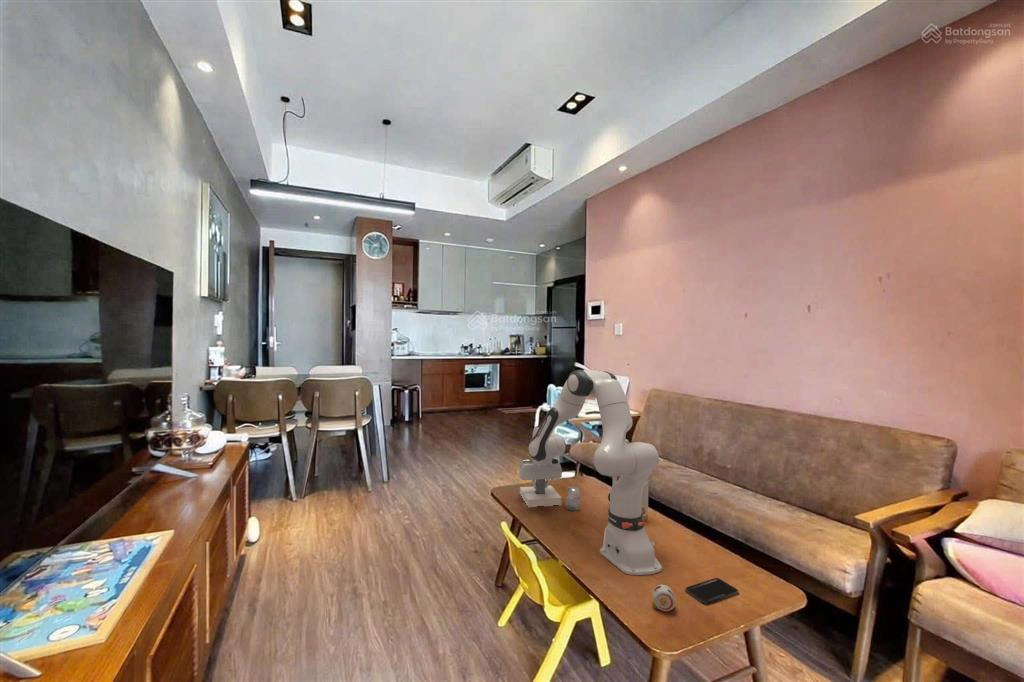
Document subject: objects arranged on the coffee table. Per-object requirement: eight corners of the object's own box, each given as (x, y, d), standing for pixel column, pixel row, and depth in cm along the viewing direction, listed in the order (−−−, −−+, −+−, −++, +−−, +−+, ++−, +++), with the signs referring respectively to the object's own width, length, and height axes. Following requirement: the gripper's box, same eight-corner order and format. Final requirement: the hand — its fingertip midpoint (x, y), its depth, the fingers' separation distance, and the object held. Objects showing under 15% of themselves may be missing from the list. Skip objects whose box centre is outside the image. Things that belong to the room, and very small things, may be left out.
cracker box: (642, 516, 178) (643, 468, 178) (648, 522, 172) (649, 472, 172) (611, 517, 176) (612, 468, 176) (616, 523, 170) (617, 473, 170)
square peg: (544, 498, 192) (545, 479, 192) (537, 499, 192) (537, 480, 192) (542, 496, 196) (542, 477, 196) (535, 496, 195) (535, 477, 195)
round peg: (580, 510, 182) (581, 490, 182) (569, 511, 181) (569, 491, 181) (576, 505, 188) (576, 486, 188) (564, 506, 187) (565, 486, 187)
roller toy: (676, 615, 113) (677, 594, 113) (652, 611, 115) (653, 590, 115) (674, 605, 118) (674, 585, 118) (650, 601, 119) (651, 581, 119)
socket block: (561, 505, 188) (561, 497, 188) (527, 507, 184) (528, 499, 184) (550, 492, 203) (551, 485, 203) (519, 494, 200) (519, 487, 200)
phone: (683, 588, 125) (717, 577, 131) (683, 591, 125) (717, 580, 131) (705, 603, 117) (740, 591, 124) (705, 607, 117) (740, 594, 124)
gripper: (521, 461, 188) (520, 491, 188) (563, 460, 193) (562, 489, 193) (518, 458, 195) (517, 486, 195) (559, 456, 199) (558, 484, 199)
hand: (540, 488), depth 194 cm, fingers closed on square peg, 3 cm apart
